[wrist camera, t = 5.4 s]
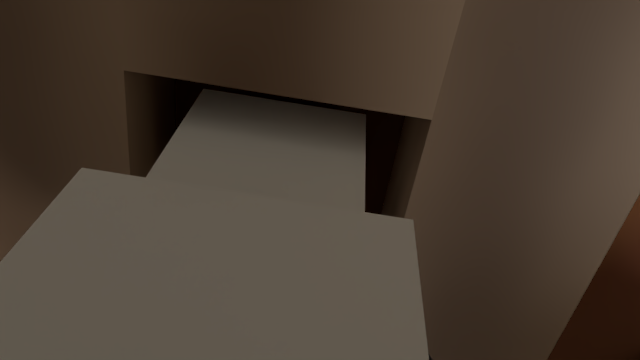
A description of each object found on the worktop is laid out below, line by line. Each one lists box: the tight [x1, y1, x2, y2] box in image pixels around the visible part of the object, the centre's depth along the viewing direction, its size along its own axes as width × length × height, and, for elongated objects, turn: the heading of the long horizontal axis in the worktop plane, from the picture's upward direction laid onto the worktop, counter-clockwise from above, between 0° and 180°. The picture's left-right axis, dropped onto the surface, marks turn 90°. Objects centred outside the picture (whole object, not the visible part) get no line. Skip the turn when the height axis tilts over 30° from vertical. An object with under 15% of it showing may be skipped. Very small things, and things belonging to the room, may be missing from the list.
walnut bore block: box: [0, 0, 640, 360], centre depth 13 cm, size 14×14×3 cm
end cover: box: [0, 89, 429, 360], centre depth 9 cm, size 5×5×8 cm
